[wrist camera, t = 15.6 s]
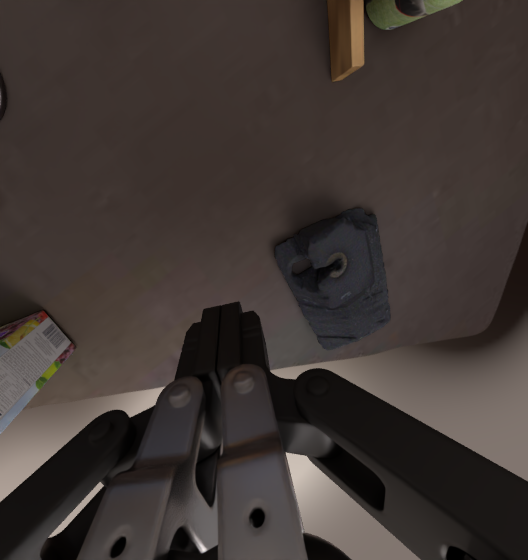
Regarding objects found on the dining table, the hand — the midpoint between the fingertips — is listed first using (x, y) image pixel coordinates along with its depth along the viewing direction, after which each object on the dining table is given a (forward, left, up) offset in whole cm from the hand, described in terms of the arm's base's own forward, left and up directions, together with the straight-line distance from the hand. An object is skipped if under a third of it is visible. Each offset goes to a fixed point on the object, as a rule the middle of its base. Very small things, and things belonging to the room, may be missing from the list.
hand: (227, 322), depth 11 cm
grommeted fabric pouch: (+19, +4, -27) cm, 33 cm away
